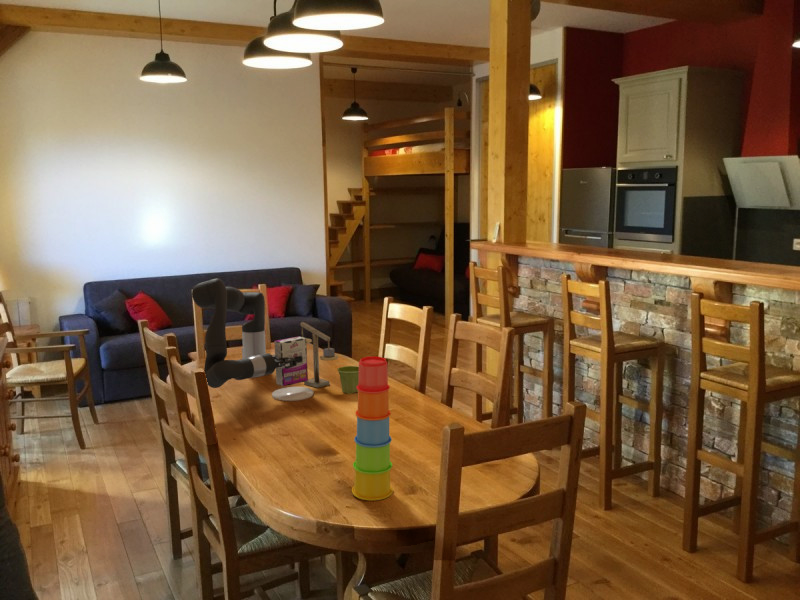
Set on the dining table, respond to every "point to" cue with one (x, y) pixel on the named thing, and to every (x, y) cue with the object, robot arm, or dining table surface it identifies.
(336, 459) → the dining table surface
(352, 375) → the plant pot
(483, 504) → the dining table surface
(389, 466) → the stacking cups
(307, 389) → the dish
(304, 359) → the candy bar box
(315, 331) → the balance
